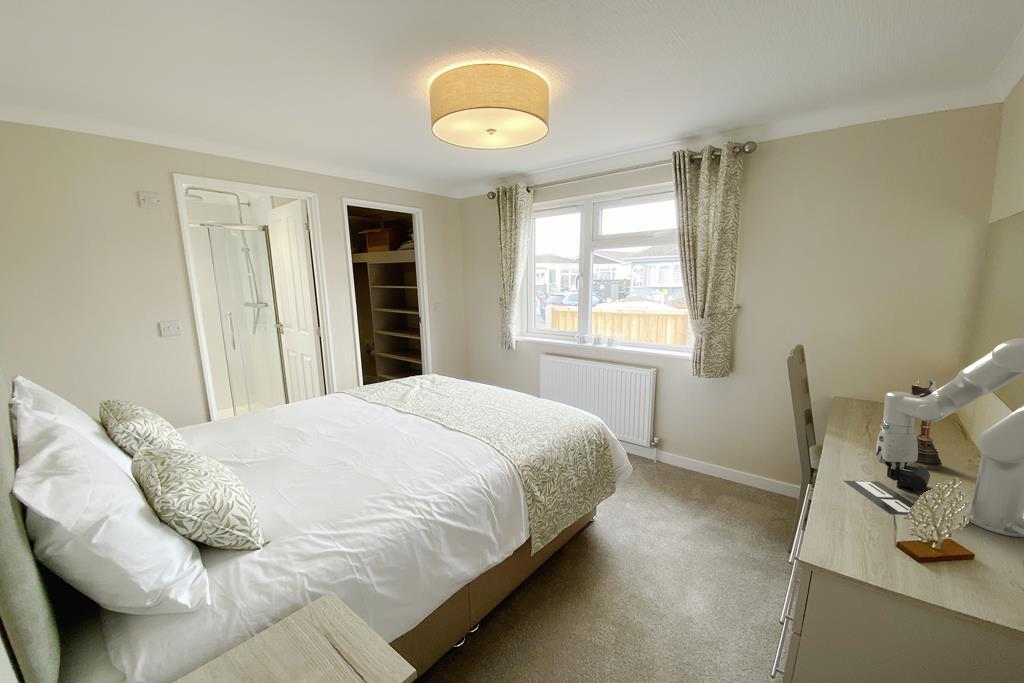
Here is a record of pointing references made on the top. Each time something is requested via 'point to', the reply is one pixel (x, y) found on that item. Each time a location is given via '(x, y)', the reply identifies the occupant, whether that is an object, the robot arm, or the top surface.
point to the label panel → (878, 499)
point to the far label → (874, 489)
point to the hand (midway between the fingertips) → (893, 478)
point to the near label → (897, 505)
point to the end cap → (913, 479)
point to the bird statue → (926, 435)
